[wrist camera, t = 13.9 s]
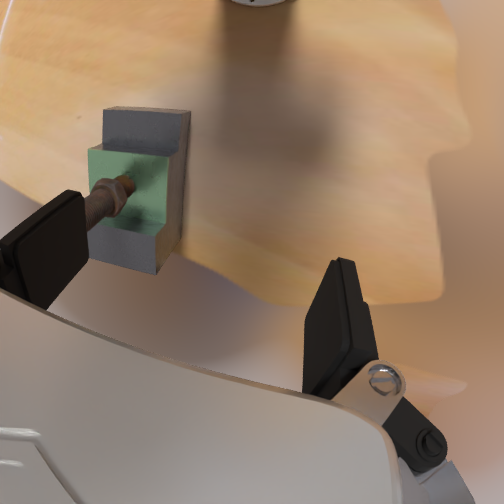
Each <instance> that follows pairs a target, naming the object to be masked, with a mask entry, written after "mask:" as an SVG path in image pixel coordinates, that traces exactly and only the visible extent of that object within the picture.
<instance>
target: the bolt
mask: <svg viewBox="0 0 504 504" xmlns="http://www.w3.org/2000/svg"><path fill="white" fill-rule="evenodd" d="M128 178H130V177H129V176H128V175H120V176H117V177H116V178H114V179H110V178H101V179H100V180H98V181H97V182H96V183H95V185H94V186H93V188H92V190H91V192H90V195H89V196H87V197H86V198H84V200H85V214H86V227H87V232H88V231H90V230H91V229H92V228H93V227H94V226H95V225H96V224H97V223H99V222H100V221H101V220H102V219H103V218H104V217H108V218H115V217H116V216H117V215H118V214H119V213H120V212H121V210H122V209H123V207H124V206H125V204H126V202H127V198H129V197H130V196H131V195H132V194H133V192H134V188H135V186H134V182H133V180H132V179H128Z"/></svg>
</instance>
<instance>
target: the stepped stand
mask: <svg viewBox="0 0 504 504" xmlns="http://www.w3.org/2000/svg"><path fill="white" fill-rule="evenodd" d="M190 113H191V111H185V110H174V109H161V108H145V107H119V106H116V107H112V108H108V109H104V110H103V138H102V144H100V145H97V146H95V147H91V148H89V149H88V171H89V189H90V192H91V190H92V188H93V186H94V185H95V183H96V182H97V181H98V180H100V179H101V178H110V179H114V178H116V177H117V176H120V175H128V176H129V177H130V178H128V179H132V180H133V182H134V186H135V188H134V192H133V194H132V195H131V196H130V197H129V198H127V202H126V204H125V206H124V207H123V209H122V210H121V212H120V213H119V214H118V215H117V216H116V217H115V218H108V217H104V218H103V219H102V220H101V221H100V222H99V223H97V224H96V225H95V226H94V227H93V228H92V229H91V230H90V231H88V232H87V238H88V248H89V258H91V259H95V260H99V261H102V262H106V263H110V264H114V265H118V266H122V267H125V268H129V269H133V270H138V271H141V272H145V273H149V274H153V275H157V273H158V271H159V270H160V268H161V267H162V265H163V264H164V262H165V261H166V259H167V258H168V256H169V255H170V253H171V252H172V250H173V249H174V247H175V246H176V244H177V243H178V241H179V240H180V238H181V231H182V211H183V194H184V179H185V166H186V154H187V142H188V132H189V122H190Z"/></svg>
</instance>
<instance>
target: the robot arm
mask: <svg viewBox="0 0 504 504" xmlns="http://www.w3.org/2000/svg"><path fill="white" fill-rule="evenodd" d="M231 1H234V2H236V3H239V4H242V5H247V6H270V5H275V4H278V3H281V2H284V1H286V0H255V1H254V2H251V0H231ZM88 259H89V248H88V238H87V227H86V214H85V200H84V197H82V194H81V193H80V192H77V191H73V190H66V191H64V192H63V193H61V194H60V195H58V196H57V197H55V198H54V199H53V200H51V201H50V202H48V203H47V204H46V205H44V206H43V207H41V208H40V209H39V210H37V211H36V212H35V213H33V214H32V215H31V216H30V217H28V218H27V219H26V220H24V221H23V222H22V223H20V224H19V225H18V226H17V227H15V228H14V229H13V230H12V231H10V232H9V233H8V234H7V235H5V236H4V237H3V238H2V239H1V240H0V504H475V501H474V498H473V496H472V495H471V493H470V491H469V490H468V488H467V486H466V484H465V483H464V481H463V479H462V477H461V476H460V474H459V472H458V470H457V469H456V467H455V466H454V464H453V462H452V461H449V462H447V460H446V458H445V457H446V455H447V442H446V439H445V437H444V435H443V434H442V433H441V432H440V431H439V430H438V429H437V428H436V427H435V426H434V425H433V424H432V423H431V422H430V421H429V420H428V419H427V418H426V417H425V416H424V415H422V414H421V413H420V412H419V411H418V410H417V409H416V408H415V407H414V406H413V405H412V404H411V403H410V402H409V401H408V400H407V399H406V398H404V397H403V395H404V393H405V391H406V382H405V378H404V376H403V374H402V373H401V371H400V370H399V369H398V368H397V367H396V366H394V365H393V364H391V363H390V362H387V361H383V360H379V358H378V352H377V346H376V341H375V336H374V331H373V325H372V320H371V316H370V311H369V306H368V304H367V303H366V302H363V297H362V293H361V288H360V283H359V279H358V275H357V270H356V266H355V262H354V261H351V260H348V259H344V258H340V257H338V258H337V260H336V261H335V260H331V262H330V264H329V266H328V268H327V271H326V273H325V275H324V277H323V280H322V282H321V284H320V286H319V289H318V291H317V293H316V295H315V298H314V300H313V302H312V304H311V306H310V308H309V311H308V313H307V315H306V319H305V324H304V325H305V328H304V361H303V364H304V365H303V386H302V393H301V392H297V391H293V390H289V389H284V388H280V387H275V386H270V385H266V384H262V383H258V382H254V381H249V380H246V379H242V378H238V377H234V376H230V375H226V374H222V373H218V372H215V371H211V370H207V369H204V368H200V367H197V366H193V365H190V364H187V363H183V362H180V361H177V360H173V359H170V358H167V357H164V356H161V355H158V354H155V353H152V352H149V351H146V350H143V349H140V348H137V347H134V346H132V345H129V344H126V343H123V342H121V341H118V340H115V339H113V338H110V337H107V336H105V335H102V334H100V333H97V332H95V331H92V330H90V329H87V328H85V327H83V326H80V325H78V324H75V323H73V322H71V321H68V320H66V319H64V318H62V317H59V316H57V315H55V314H53V313H50V312H48V311H46V310H47V309H48V308H49V306H50V305H51V304H52V303H53V301H54V300H55V299H56V298H57V297H58V295H59V294H60V293H61V292H62V291H63V289H64V288H65V287H66V286H67V285H68V283H69V282H70V281H71V280H72V279H73V278H74V276H75V275H76V274H77V273H78V272H79V271H80V270H81V268H82V267H83V266H84V265H85V264H86V263H87V261H88Z"/></svg>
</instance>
